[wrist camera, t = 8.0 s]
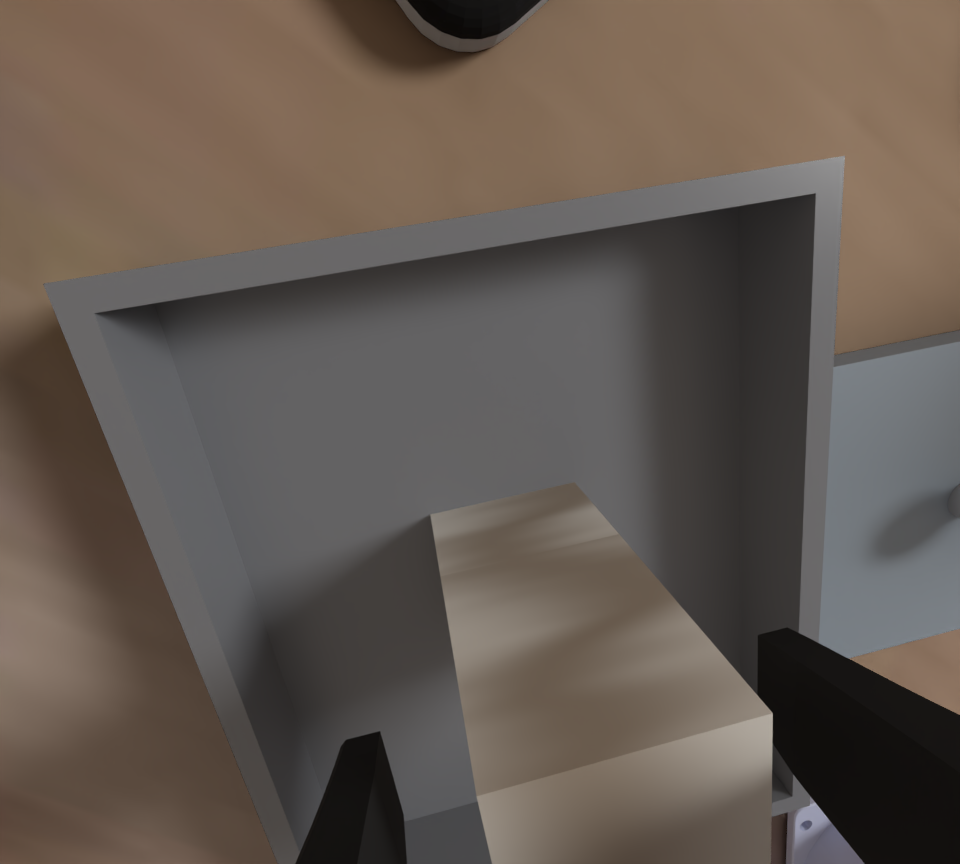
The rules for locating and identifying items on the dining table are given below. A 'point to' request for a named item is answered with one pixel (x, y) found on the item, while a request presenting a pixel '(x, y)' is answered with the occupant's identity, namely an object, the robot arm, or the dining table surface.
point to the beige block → (595, 696)
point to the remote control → (468, 20)
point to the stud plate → (893, 496)
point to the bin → (465, 450)
